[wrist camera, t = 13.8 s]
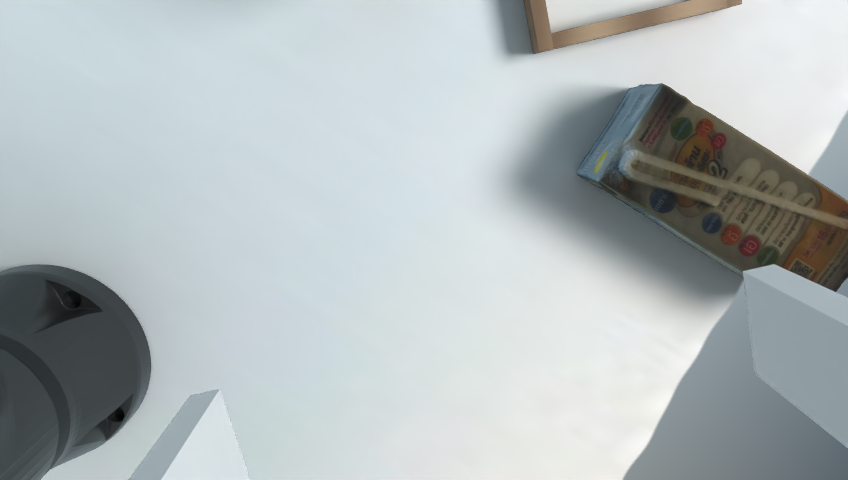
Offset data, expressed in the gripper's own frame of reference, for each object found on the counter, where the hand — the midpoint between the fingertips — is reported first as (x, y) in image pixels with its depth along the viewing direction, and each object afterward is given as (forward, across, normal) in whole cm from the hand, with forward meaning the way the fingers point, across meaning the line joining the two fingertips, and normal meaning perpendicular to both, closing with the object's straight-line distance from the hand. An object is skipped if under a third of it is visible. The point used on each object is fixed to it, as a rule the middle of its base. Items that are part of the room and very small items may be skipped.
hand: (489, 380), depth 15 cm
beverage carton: (+32, +20, -5) cm, 38 cm away
